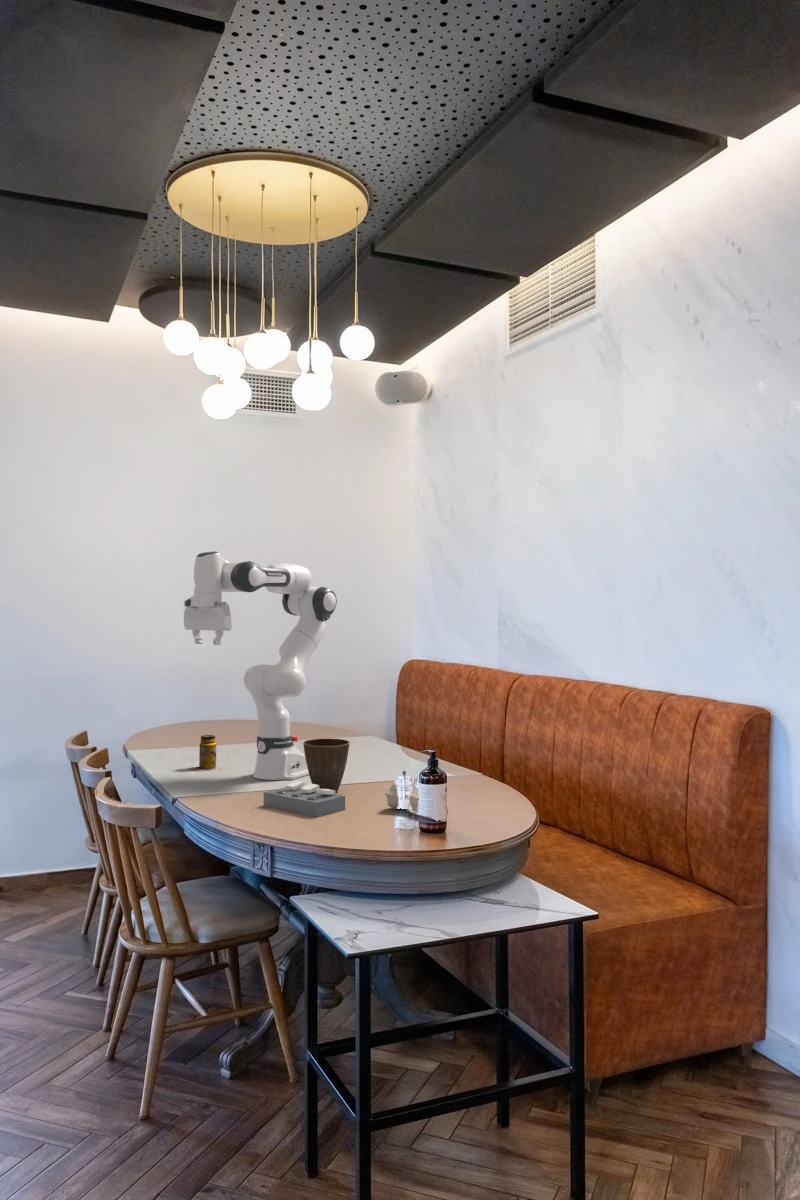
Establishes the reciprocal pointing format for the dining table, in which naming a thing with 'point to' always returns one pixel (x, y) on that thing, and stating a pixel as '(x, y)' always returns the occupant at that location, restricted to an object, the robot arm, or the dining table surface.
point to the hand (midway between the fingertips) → (207, 644)
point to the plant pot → (326, 761)
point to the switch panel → (304, 801)
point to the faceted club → (393, 798)
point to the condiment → (207, 753)
